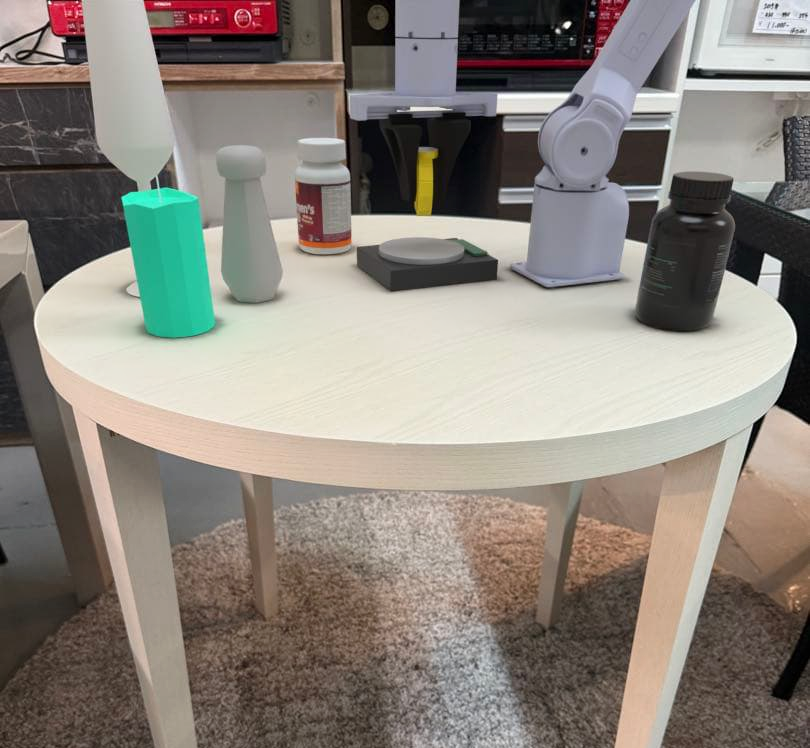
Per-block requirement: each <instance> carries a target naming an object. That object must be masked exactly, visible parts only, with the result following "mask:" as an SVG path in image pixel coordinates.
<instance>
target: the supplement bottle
mask: <svg viewBox="0 0 810 748" xmlns="http://www.w3.org/2000/svg"><path fill="white" fill-rule="evenodd" d="M733 185H734V177H733V176H731V175H728V174H725V173H718V172H711V171H679V172H675V173H673V175H672V178H671V183H670V188H669V191H668V195H667V198H668V199H669V203H668V205H666V206H664V207H662V208H661V209H659V210H658V211H657V212H656V213H655V214H654V216H653V217H652V219H651V222H650V228H649V232H648V239H647V244H646V248H645V249H646V250H645V254H644V260H643V266H642V271H641V275H640V280H639V287H638V292H637V297H636V303H635V310H634V311H635V312H634V313H635V316H636V318H637V319H638V321H640V322H641V323H642V324H645V325H647V326H649V327H653V328H657V329H660V330H667V331H674V332H692V331H698V330H702V329H704V328H706V327H708V326H709V325H710V324H711V323H712V321H713V320H714V316H715V312H716V307H717V304H718V300H719V296H720V291H721V288H722V283H723V279H724V277H725V276H724V275H725V272H726V269H727V263H728V260H729V256H730V252H731V248H732V243H733V239H734V235H735V231H736V223H735V219H734V217H733V216H732V214H731V213H730V212H728V211H727V209H726V205H727V204H729V203H730V202H731V198H732V195H731V193H732V188H733Z"/></svg>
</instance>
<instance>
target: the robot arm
mask: <svg viewBox="0 0 810 748" xmlns="http://www.w3.org/2000/svg"><path fill="white" fill-rule="evenodd" d="M696 1H697V0H629V2H628V3H627V5H626V7H625V9H624V11H623V12H622V14H621V15H620V17H619V19H618V20H617V22H616V24H615V26H614V27H613V29H612V31H611V33H610V34H609V36H608V38H607V39H606V41H605V43H604V44H603V46H602V48H601V49H600V51H599V53H598V55H597V56H596V58H595V60H594V62H593V63H592V64H591V66H590V68H589V69H588V70H587V71H586V72H585V73H584V74H583V76H582V77H581V78H580V79H579V80H578V81H577V83H576V84H575V85H574V87H573V89H572V91H571V92H570V94H569V95H568V96H567V98H566V99H565V100H564V101H563V102H562V103H561V104H560V105H558V106H557V107H555V108H554V109H552V110H551V111H550V112H549V113H548V114H547V116H546V117H545V118H544V119H543V121H542V123H541V125H540V128H539V131H538V135H537V148H538V152H539V155H540V157H541V159H542V161H543V162H544V163H545V164H544V166H543V167H542V169H541V171H540V172H539V173H537V175H536V176H535V177H534V184H533V194H532V204H531V214H530V222H529V223H530V225H529V234H528V244H527V254H526V261H522V262H513V263H510V264H509V268H510V270H513V271H515V272H517V273H518V274H520V275H522V276H524V277H526V278H528V279H529V280H532V281H533V282H535V283H537V284H539V285H542V286H543V287H545V288H554V287H565V286H573V285H582V284H589V283H597V282H598V283H599V282H606V281H615V280H622V279H624V276H625V274H624V273H622V272H621V271H620V270H621V264H622V260H623V252H624V248H625V247H624V246H625V242H626V241H625V240H626V235H627V229H628V223H629V216H630V205H629V199H628V198H629V197H628V195H627V192H626V191H625V190H624V188H623V187H622V186H621V185H619V183H615V182H609V180H610V179H609V178H608V177H607V176H606V175H608V173H609V172H610V171H611V169H612V167H613V166H614V163H615V162H616V158H617V156H618V155H617V154H618V149H619V143H620V139H621V136H622V134H623V132H624V130H625V129H626V127H627V125H628V123H629V122H630V120H631V118H632V115H633V111H634V107H635V103H636V99H637V96H638V93H639V91H640V90H641V88H642V87H643V85H644V84H645V82H646V81H647V79H648V77H649V76H650V74H651V72H652V71H653V69H654V68H655V66H656V65H657V63H658V61H659V60H660V58H661V57H662V55H663V53H664V52H665V50H666V48H667V47H668V45H669V44H670V42H671V40H672V39H673V37H674V35H675V34H676V32H678V30H679V27H680V26H681V25H682V23H683V22H684V20H685V19H686V17H687V16H688V13H689V12H690V10H691V9H692V7H693V6H694V4H695V3H696ZM394 6H395V9H394V11H395V12H394V13H395V14H394V15H395V16H394V21H395V23H394V25H395V26H394V27H395V29H394V33H395V34H394V35H395V36H394V37H395V39H394V40H395V51H394V52H395V53H394V54H395V55H394V58H395V59H394V71H395V72H394V92H382V93H364V94H349V119H351V120H355V121H358V122H360V121H367V120H379V128H380V131H381V133H382V135H383V137H384V139H385V141H386V142H385V143H386V144H387V147H388V149H389V151H390V154H391V157H392V160H393V164H394V167H395V171H396V175H397V179H398V184H399V189H400V197H401V200H404V201H406V202H408V203H415V201H416V194H417V159H418V151H419V147H420V143H421V137H422V133H423V132H422V131H423V128H422V127H421V126H420V125H417V124H416V120H413V119H416V118H417V119H418V118H428V119H427V120H426V124H427V130H428V140H429V147H432V148H437V149H438V157H437V158H434V159H432V163H433V196H432V197H433V199H435V200H437V201H444V200H445V198H446V194H447V188H448V185H449V181H450V178H451V175H452V171H453V169H454V165H455V162H456V160H457V157H458V156H459V153H460V151H461V149H462V147H463V145H464V143H465V141H466V140H467V138H468V136H469V134H470V132H471V127H472V126H471V125H472V121H471V120H470V119H466V117H479V116H480V117H481V116H483V117H497V110H498V109H497V108H498V96H499V95H498V93H495V92H491V91H456V90H457V70H458V69H457V68H458V67H457V66H458V47H459V46H458V45H459V44H458V43H459V39H458V38H459V21H460V0H395V5H394ZM411 108H439V109H438V110H437V109H436V110H411ZM440 108H441V109H442V110H440Z"/></svg>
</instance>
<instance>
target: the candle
mask: <svg viewBox="0 0 810 748" xmlns="http://www.w3.org/2000/svg"><path fill="white" fill-rule="evenodd" d="M155 180H156V185H157V186H156V187H157V188H155V189H151V190H148V191H139V192H138V191H130V192H128V193H127V194H125V195H123V196H121V202H122V209H123V213H124V219H125V223H126V230H127V234H128V235H127V236H128V238H129V246H130V250H131V257H132V260H133V262H132V263H133V267H134V272H135V277H136V280H137V283H138V289H139V294H140V297H139V298H140V299H139V300H140V304H141V311H142V314H143V315H142V316H143V320H144V327H145V330H146V333H147V334H150V335H153V336H155V337H159V338H160V337H161V338H173V339H176V338H185V337H194V336H197V335H200V334H204V333H208V332H210V331H211V330H212V329H213V328H214V327H215V326H216V320H215V313H214V305H213V297H212V290H211V282H210V275H209V268H208V259H207V253H206V252H207V251H206V246H205V245H206V244H205V237H204V229H203V222H202V216H201V215H202V214H201V206H200V199H199V198H198V196H197V195H193V194H192V193H188V192H186V191H183V190H178V189H174V188H170V187H161V188H160V181H159V175H157V176H156V177H155Z"/></svg>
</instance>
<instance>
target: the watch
mask: <svg viewBox="0 0 810 748" xmlns="http://www.w3.org/2000/svg"><path fill="white" fill-rule="evenodd" d="M437 157H438V149H437V148H432V147H430V146H419V151H418V159H417V194H416V201H415V202H414V209H415V213H416V216H417V217H431V215H432V208H433V200H434V198H433V197H432V196H433V163H432V159H434V158H437Z"/></svg>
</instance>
